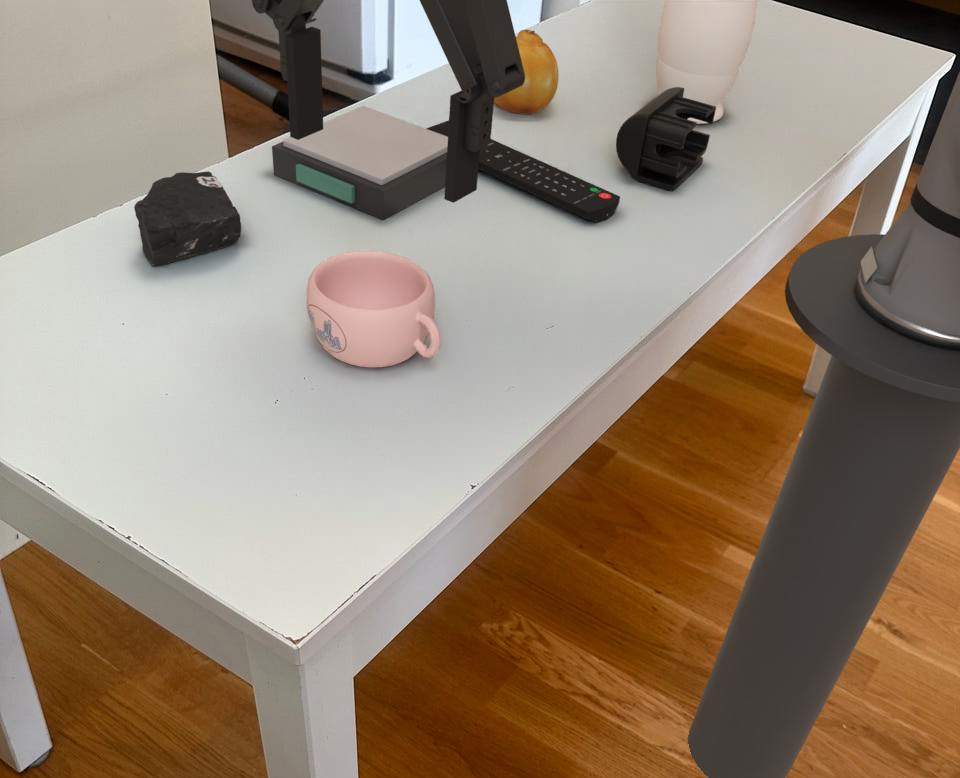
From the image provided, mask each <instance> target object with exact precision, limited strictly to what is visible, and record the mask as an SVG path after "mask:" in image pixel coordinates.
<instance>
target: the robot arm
mask: <svg viewBox="0 0 960 778" xmlns="http://www.w3.org/2000/svg"><path fill="white" fill-rule="evenodd" d="M324 2H325V0H251V5H252V7H253V9H254V11H255V12H256V13H257V14H261V15H262V14H265V15H267V17H269V18H270V19H271V20H272V22H273V26H274V27H275V29H276V30H277V32H278V46H279V55H280V56H279V61H280V63H279V65H280V73H281V77H282V80H283V81H285V82H287V83H286V84H287V97H288V98H287V101H288V102H287V103H288V119H289V120H288V121H289V137H292V138H295V139H297V140H299V139H302V138H304V137H306V136H309V135H311V134H313V133H316V132H318V131H320V130H323V123H324V108H323V107H324V106H323V104H324V103H323V72H322V71H323V70H322V67H323V66H322V65H323V64H322V37H321V36H322V35H321V33H322V32H321V29H320V28H318V27H314V26H310V27H307V25H308V24H310V23H313V22H314V23H315V21H317V18H316V17H315V14H316V13H317V11H318V10H319V9H320V7H321V5H322V4H323V3H324ZM419 2H420V5H421V7H422V9H423V12H424V13H425V15H426V17H427V20H428V22H429V24H430V26H431V28H432V30H433V32H434V35H435V36H436V40H437V42H438V43H439V45H440V47H441V49H442V51H443V54H444V56H445V58H446V60H447V62H448V64H449V66H450V69H451V71H452V72H453V75H454V77H455V79H456V81H457V83H458V85H459V86H458V87H459V88H460V91H457V92H455V93H452V94H450V99H449V111H448V112H449V114H448V120H449V129H448V146H447V162H446V179H445V187H444V198H443V199H444V200H445V201H448V202H450V203H457V201H459V200H461V199H463V198H465V197H467V196H469V195H470V194H472V193H474V192H475V191H477V190H478V177H479V169H478V166H479V154H480V150H481V149H483V148H485V147H487V146H488V144H489V141H490V139H492V129H493V128H492V127H493V116H494V106H495V102H494V98H495V97H499V96H502V95H504V94H506V93H508V92H510V91H512V90H515V89H517V88H519V87H520V86H522V85H523V84H524V82H525V73H524V69H523V65H522V61H521V57H520V53H519V48H518V44H517V40H516V37H517V35H516V33H515V28H514V24H513V21H512V16H511V12H510V8H509V4H508V0H419ZM313 17H314V18H313ZM957 74H958V75H957V78H956V79H955V82H954V84H953V87H952V89H951V93H950V95H949V98H948V100H947V103H946V106H945V108H944V111H943V113H942V116H941V119H940V121H939V124H938V126H937V129H936V131H935V133H934V137H933V139H932V141H931V145H930V148H929V150H928V151H927V155H926V158H925V160H924V163H923V165H922V168H921V170H920V173H919V176H918V178H917V182H916V184H915V186H914V189H913V191H912V194H911V196H910V199H909V201H908V203H907V205H906V207H905V208H904V209H903V211H902V212H901V213H900V214H899V216H898V218H897V219H896V220H895V221H894V222H893V223H892V225H891V226H890V227H889V229H888V230H887V231H886V232H885V234H883V235H884V237H883V238H882V239H881V240H880V242H879V243H878V244H877V246H876V247H875V248H874V249H872V247H871V248H870V249H869V251H868V252H867V253H866V255H865V256H864V258H863V259H862V260H861V266H862V267H861V269H860V272H859V274H858V277H857V280H856V282H855V286H854V292H855V296H856V299H857V301H858V303H859V304H860V306H861V307H862V308H863V309H864V311H865V312H866V313H867V314H868V315H870V316H871V317H872V318H873V319H874V320H876V321H877V322H878V323H880V324H881V325H883V326H884V327H886V328H888V329H889V330H891V331H893V332H895V333H897V334H899V335H901V336H903V337H906V338H908V339H911V340H913V341H916V342H919V343H922V344H925V345H929V346H932V347H936V348H941V349H946V350H952V351H959V352H960V71H959V72H958V73H957Z"/></svg>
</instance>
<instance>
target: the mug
mask: <svg viewBox="0 0 960 778" xmlns="http://www.w3.org/2000/svg"><path fill="white" fill-rule="evenodd" d="M306 285H307V286H306V312H307V316H308V319H309V322H310V326H311V328H312V331H313V332H314V334H315V336H316V337H317V340H318V342H319V343H320V344H321V346H322V347H323V348H324V350H325V351H327V352H328V353H329V354H330V355H331V356H332V357H333V358H335V359H337V360H338V361H341V362H343V363H346V364H348V365H350V366H357V367H361V368H385V367H391V366H394V365H399V364H400V363H403V362H405V361H407V360H408V359H410V358H411V357H413V356H414V355H415V354H416V353H418V354H419V355H420V356H422V358H428V359H429V358H434V357H435V356H436V355H437V354H438V352H439V350H440V348H441V343H442V342H441V341H442V339H441V332H440V329H439V327H438V325H437V323H436V322H435V321H434V319H435V318H434V317H435V312H436V311H435V310H436V299H435V298H436V296H435V287H434V283H433V281H432V279H431V276H430V275H429V273H428V272H427V271H426V270H425V269H424V268H423V267H422V266H420V265H419V264H418V263H416V262H415V261H412V260H411V259H409V258H407V257H406V256H405V257H404V256H401V255H398V254H395V253H390V252H387V251H386V252H385V251H378V250H355V251H348V252H344V253H339V254H335V255H334V256H330V257H328V258H327V259H325V260H323V261H322V262H320V263H319V264H318V265H317V266H316V267H315V268H314V269H313V270H312V272H311V273H310V275H309V278H308V279H307V284H306ZM428 335H429V338H430V339H429V340H430V345H429V346H427V345H426V344H425V343H424V342H425V340H426V339H427V337H428Z"/></svg>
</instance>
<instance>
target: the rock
mask: <svg viewBox="0 0 960 778" xmlns="http://www.w3.org/2000/svg"><path fill="white" fill-rule="evenodd" d="M133 206H134V207H133V208H134V213H135V217H136V219H137V222H138V223H137V224H138V225H137V226H138V229H139V233H140V236H139V237H140V240H141V245H142V247H141V249H142V253H143V255H144V257H145V259H146V260H147V262H148V263H149V264H150V265H151V266H158V265H159V266H160V265H166V264H170V263H174V262H177V261H180V260H182V259H186V258H187V259H188V258H191V257H194V256H197V255H198V256H199V255H205V254H208V253H211V252H215V251H217V250H220V249H223V248H226V247H229V246H231V245H234V243H236V242H237V241H238V240H239V239H240V236H241V234H242V221H241V215H240V212H239V211H238V209H237V208H236V206H235V205H233V202H232V200H231V199H230V197H229V195H228V194H227V191H226V190H225V189H224V186H223V185H222V183H221V182H220V181H219V179H218V177H217V176H215V175H213V173H212V172H211V171H201V172H183V171H182V172H175V174H173V175H172V176H168V177H167V176H165V177H162V178H160V179H157V180H155V181H154V182H153V183H152V184H151V187H150V189H149V191H148V193H146V196H144V197H143V198H142V199H140V200H138V201H137V202H135V204H134V205H133Z"/></svg>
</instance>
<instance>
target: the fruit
mask: <svg viewBox="0 0 960 778" xmlns="http://www.w3.org/2000/svg"><path fill="white" fill-rule="evenodd" d="M516 40H517V44H518V48H519V53H520V57H521V61H522V65H523V69H524V73H525V82H524V84H523V85H522V86H520V87H519V88H517V89H515V90H512V91H510V92H508V93H506V94H504V95H502V96H499V97H495V98H494V104H496V105H497V106H498V107H500V108H501V109H503V110H506V111H508V112H510V113H515V114H520V115H522V114H523V115H527V114H528V115H530V114H535V113H538V112H540V111H542V110H544V109H545V108H546V107H548V106H549V104H551V102H552V101H553V99H554V98H555V96H556V93H557V90H558V86H559V65H558V61H557V59H556V56H555V55H554V53H553V51H552V49H551V48H550V46H549V45H548V44H547V43H545V42H544V41H543V40H544V39H543V38H542V37H541V36H540V35H539V34H538V33H537V32H535V30H530V29H522V30H520V31H519V32H518V34H517V35H516Z"/></svg>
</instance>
